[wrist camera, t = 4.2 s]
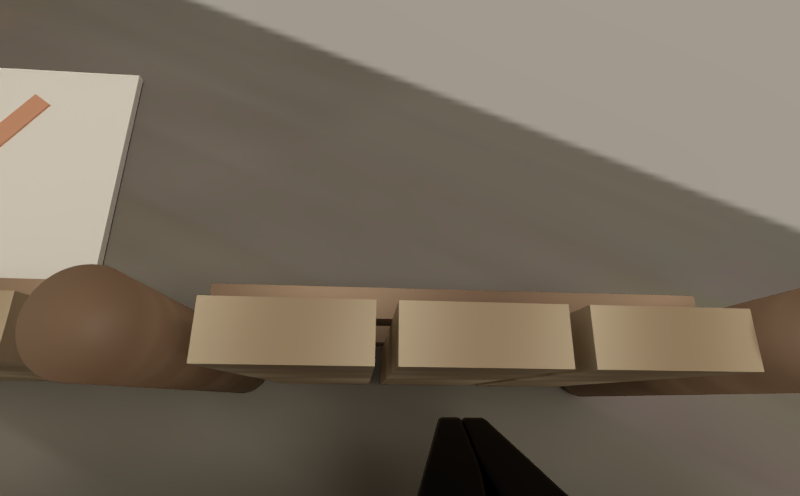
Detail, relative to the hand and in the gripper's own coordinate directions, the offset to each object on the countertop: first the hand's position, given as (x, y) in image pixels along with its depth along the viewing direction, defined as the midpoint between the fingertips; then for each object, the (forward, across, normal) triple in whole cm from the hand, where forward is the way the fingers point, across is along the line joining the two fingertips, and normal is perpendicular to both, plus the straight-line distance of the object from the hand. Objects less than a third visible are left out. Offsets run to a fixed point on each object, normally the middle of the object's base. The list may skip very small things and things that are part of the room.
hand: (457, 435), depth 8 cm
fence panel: (+6, +1, -3) cm, 6 cm away
